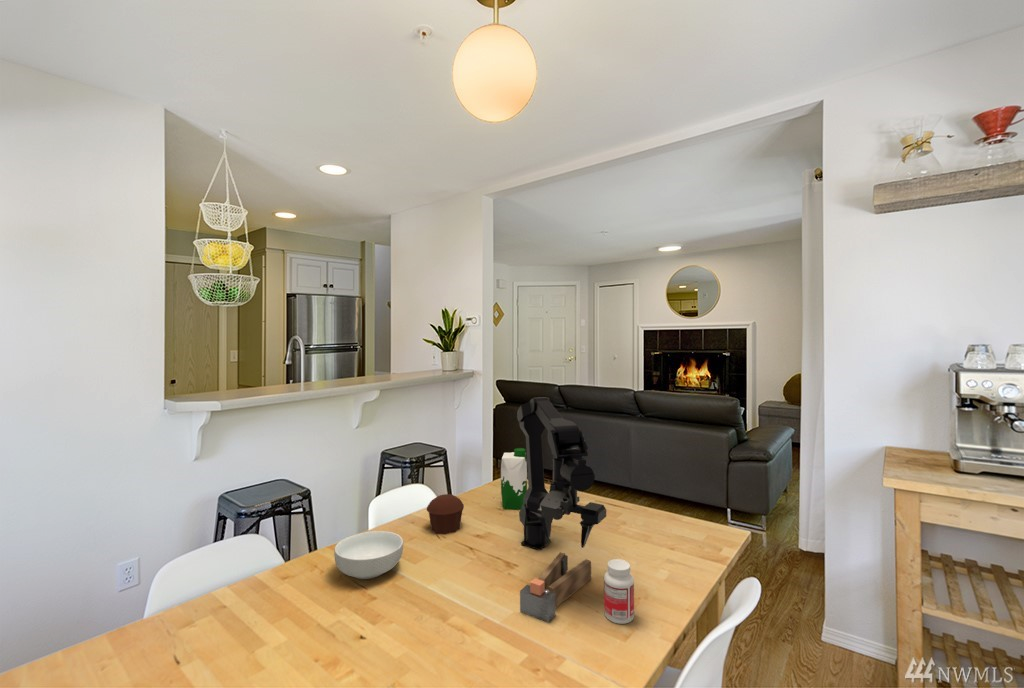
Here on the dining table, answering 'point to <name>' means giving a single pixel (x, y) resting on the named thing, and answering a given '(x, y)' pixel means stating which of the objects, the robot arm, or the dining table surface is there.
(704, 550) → the dining table surface
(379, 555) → the cereal bowl
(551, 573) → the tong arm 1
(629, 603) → the pill bottle
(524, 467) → the milk carton
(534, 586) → the tab
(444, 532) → the muffin
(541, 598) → the grey block
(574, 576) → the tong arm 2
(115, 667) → the dining table surface
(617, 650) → the dining table surface
